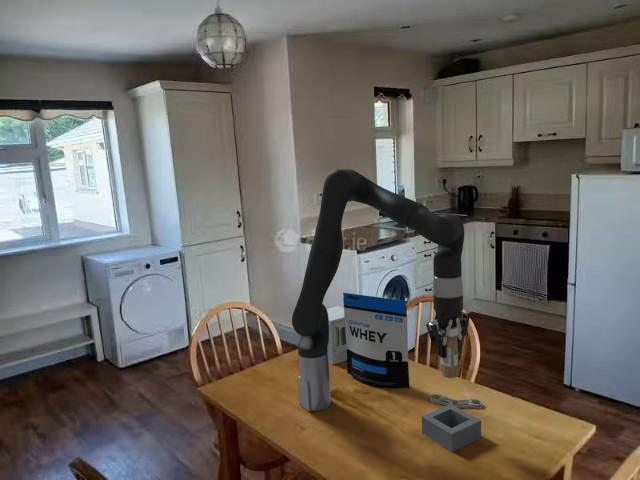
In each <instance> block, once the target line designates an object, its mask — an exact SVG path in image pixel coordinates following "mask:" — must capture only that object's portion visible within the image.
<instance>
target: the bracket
mask: <svg viewBox="0 0 640 480" xmlns="http://www.w3.org/2000/svg"><path fill="white" fill-rule="evenodd" d="M429 400H430V402H431V403H432V404H436V405H437V404H438V405H442V406H443V407H445V406H447V405H449V404H451V405H453V406H455V407H457V408H459V409H476V410H477V409H481V408H483V401H482V400H481V399H476V398H470V399H455V398H450V397H447V396H443V394H436V393H435V394H430V397H429Z"/></svg>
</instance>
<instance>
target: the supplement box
mask: <svg viewBox="0 0 640 480" xmlns="http://www.w3.org/2000/svg"><path fill="white" fill-rule="evenodd" d="M326 309H327V312H328V318H329V342H328V364H331V365H332V366H334V365H336V364H339V363H342V362H345V361H346V362H347V347H346V334H345V319H344V307H342V306H339V305H337V306H334V307H330V308H326Z"/></svg>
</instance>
